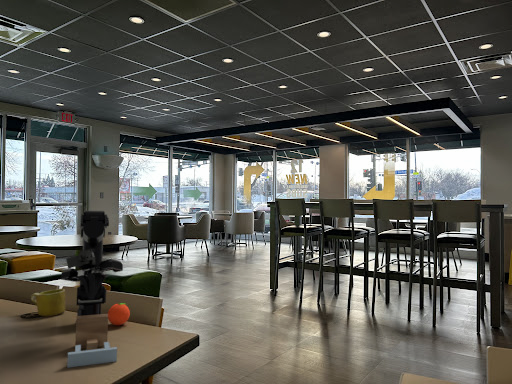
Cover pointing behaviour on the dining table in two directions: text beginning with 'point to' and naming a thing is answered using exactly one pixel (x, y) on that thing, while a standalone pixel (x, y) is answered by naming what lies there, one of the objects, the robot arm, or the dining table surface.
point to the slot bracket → (92, 356)
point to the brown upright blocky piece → (91, 331)
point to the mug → (49, 302)
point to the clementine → (118, 314)
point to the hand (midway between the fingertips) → (90, 299)
